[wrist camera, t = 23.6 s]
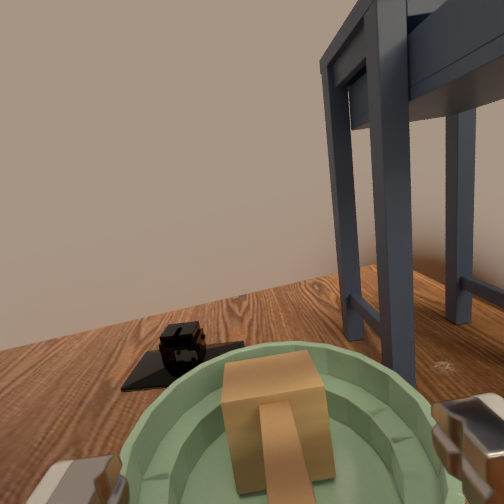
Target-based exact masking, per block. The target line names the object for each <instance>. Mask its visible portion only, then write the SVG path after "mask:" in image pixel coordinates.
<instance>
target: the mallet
mask: <svg viewBox="0 0 504 504" xmlns="http://www.w3.org/2000/svg"><path fill="white" fill-rule="evenodd" d="M221 408H222V413H223V419H224V424H225V430H226V435H227V441H228V446H229V452H230V457H231V463H232V468H233V474H234V479H235V485H236V490H237V494H244V493H249V492H255V491H261V490H267V500H268V504H317V502H316V498H315V495H314V491H313V487H312V483H311V482H313V481H319V480H325V479H330V478H336V470H335V462H334V455H333V447H332V439H331V432H330V424H329V416H328V409H327V401H326V393H325V386H324V383H323V381H322V379H321V377H320V375H319V373H318V371H317V369H316V367H315V365H314V363H313V361H312V359H311V357H310V355H309V353H308V351H307V350H302V351H296V352H290V353H284V354H278V355H272V356H265V357H259V358H253V359H247V360H241V361H235V362H229V363H225V366H224V376H223V385H222V394H221Z"/></svg>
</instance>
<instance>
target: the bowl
mask: <svg viewBox="0 0 504 504" xmlns="http://www.w3.org/2000/svg"><path fill="white" fill-rule="evenodd" d="M302 350H307V351H308V353H309V355H310V357H311V359H312V361H313V363H314V365H315V367H316V369H317V371H318V373H319V375H320V377H321V379H322V381H323V383H324V386H325V393H326V401H327V409H328V416H329V424H330V432H331V439H332V447H333V455H334V462H335V470H336V478H330V479H325V480H319V481H313V482H311V483H312V487H313V491H314V495H315V498H316V502H317V504H465V496H464V495H463V493H462V482H461V481H459V480H457V479H456V478H454V477H453V476H451V475H449V474H448V473H447V471H446V470H445V468H444V467H443V466H442V464H441V462H440V460H439V459H438V457H437V455H436V452H435V449H434V446H433V443H432V435H431V430H432V428H433V427H434V426H435V424H436V423H437V422H436V421H435V420H434V419H433V418H432V416H431V405H430V404H429V402H428V401H427V400H426V398H424V397H423V396H422V395H421V394H420V393H419V392H418V391H417V390H415V389H414V388H413V387H412V386H411V385H410V384H409V383H408V382H406V381H405V380H404V379H403V378H402V377H401V376H400V375H398V374H397V373H396V372H395V371H393V370H391V369H389V368H388V367H386V366H384V365H382V364H380V363H378V362H376V361H374V360H372V359H371V358H369V357H367V356H365V355H363V354H361V353H358V352H354V351H351V350H347V349H344V348H340V347H337V346H334V345H330V344H323V343H314V342H304V341H283V342H269V343H261V344H257V345H252V346H248V347H244V348H240V349H236V350H232V351H229V352H227V353H225V354H222V355H220V356H218V357H215V358H213V359H211V360H208V361H206V362H204V363H202V364H200V365H198V366H197V367H195V368H194V369H192V370H191V371H189V372H188V373H186V374H185V375H183V376H182V377H180V378H179V379H177V380H176V381H174V382H173V383H172V384H171V385H170V386H169V387H168V388H167V389H166V390H165V391H164V392H163V393H162V394H161V395H160V396H159V397H158V398H157V399H156V400H155V401H154V402H153V403H152V404H151V405H150V406H149V407H148V408H147V409H146V410H145V411H144V412H143V414H142V415H141V417H140V419H139V420H138V422H137V423H136V425H135V427H134V428H133V430H132V432H131V433H130V435H129V436H128V438H127V440H126V441H125V443H124V445H123V446H122V449H121V453H120V459H121V461H122V464H123V466H122V468H121V471H120V474H121V475H122V476H124V477H125V478H126V479H127V480H128V484H129V488H130V502H129V504H268V500H267V490H261V491H255V492H249V493H244V494H237V490H236V485H235V479H234V474H233V468H232V463H231V457H230V452H229V446H228V441H227V435H226V430H225V424H224V419H223V413H222V408H221V394H222V385H223V376H224V366H225V363H229V362H235V361H241V360H247V359H253V358H259V357H265V356H272V355H278V354H284V353H290V352H296V351H302Z"/></svg>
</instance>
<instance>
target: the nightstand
mask: <svg viewBox="0 0 504 504" xmlns="http://www.w3.org/2000/svg"><path fill="white" fill-rule="evenodd" d="M320 72H321V74H322V84H323V97H324V109H325V120H326V132H327V144H328V156H329V168H330V180H331V192H332V203H333V214H334V226H335V239H336V250H337V262H338V274H339V286H340V298H341V310H342V321H343V333H344V335H345V336H346V338H347V339H348V341H354V340H360V339H364V325H363V319H364V320H365V321H366V322H367V323H368V325H369V326H370V327H371V328H372V329H373V330H374V331H375V332H376V333H377V334H378V335H379V337H380V338H381V348H382V365H384V366H386V367H388V368H389V369H391V370H393V371H395V372H396V373H397V374H398V375H400V376H401V377H402V378H403V379H404V380H405V381H406V382H408V383H409V384H410V385H411V386H412V387H413V388H414V389H415V390H416V378H415V338H414V298H413V258H412V221H411V219H412V218H411V178H410V142H409V141H410V137H409V122H412V121H418V120H425V119H431V118H438V117H445V116H446V269H445V271H446V272H445V274H446V278H445V281H446V282H445V317H446V318H447V319H448V320H450V321H451V322H453V323H454V324H463V323H469V322H471V310H472V294H474V295H477V296H479V297H481V298H483V299H485V300H487V301H489V302H492V303H494V304H496V305H498V306H500V307H502V308H504V290H503V289H501V288H498V287H495V286H493V285H491V284H488V283H486V282H483V281H480V280H478V279H475V278H473V277H472V266H473V264H472V263H473V223H474V222H473V221H474V220H473V219H474V179H475V178H474V177H475V136H476V135H475V133H476V108H477V107H479V106H482V105H486V104H489V103H492V102H495V101H498V100H501V99H504V0H358V1H357V3H356V5H355V6H354V8H353V9H352V11H351V12H350V14H349V15H348V17H347V18H346V20H345V22H344V23H343V25H342V26H341V28H340V29H339V31H338V33H337V34H336V36H335V37H334V39H333V40H332V42H331V44H330V45H329V47H328V48H327V50H326V51H325V53H324V55H323V56H322V58H321V59H320ZM348 91H349V101H350V116H351V130H359V129H365V128H370V141H371V160H372V177H373V178H372V179H373V197H374V215H375V232H376V233H375V234H376V252H377V253H376V254H377V273H378V291H379V310H380V314H379V313H378V312H377V311H376V310H375V309H374V308H373V307H372V306H371V305H370V304H368V303H367V302H366V301H365V300H364V299H363V298H362V295H361V280H360V267H359V266H360V265H359V250H358V236H357V222H356V207H355V191H354V177H353V161H352V148H351V133H350V117H349V103H348Z"/></svg>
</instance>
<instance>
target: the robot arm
mask: <svg viewBox="0 0 504 504" xmlns="http://www.w3.org/2000/svg"><path fill="white" fill-rule="evenodd" d="M431 416H432V418H433V419H434V420H435V421H436V422H437V423H436V424H435V426H434V427H433V428H432V430H431V435H432V443H433V446H434V449H435V452H436V455H437V457H438V459H439V460H440V462H441V464H442V466H443V467H444V468H445V470H446V471H447V473H448V474H449V475H451V476H453V477H454V478H456V479H457V480H459V481H461V482H462V493H463V495H464V496H465V497H466V499H467V500H468V502H469V503H470V504H504V399H503V398H502V397H501V396H499V395H497V394H495V393H492V392H491V393H485V394H480V395H474V396H471V397H470V396H469V397H463V398H457V399H451V400H445V401H439V402H433V404H432V406H431ZM122 466H123V464H122V461H121V459H120V456H119V454H108V455H100V456H93V457H85V458H77V459H74V460H66V461H58V462H56V463H55V464H53V465H52V466H51V467H50V468H49V470H48V471H47V473H46V474H45V475H44V477H43V478H42V480H41V481H40V483H39V484H38V486H37V487H36V489H35V490H34V492H33V493H32V495H31V496H30V498H29V499H28V500H27V502H26V503H25V504H129V502H130V488H129V484H128V480H127V479H126V478H125V477H124V476H122V475H121V474H120V471H121V468H122Z"/></svg>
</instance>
